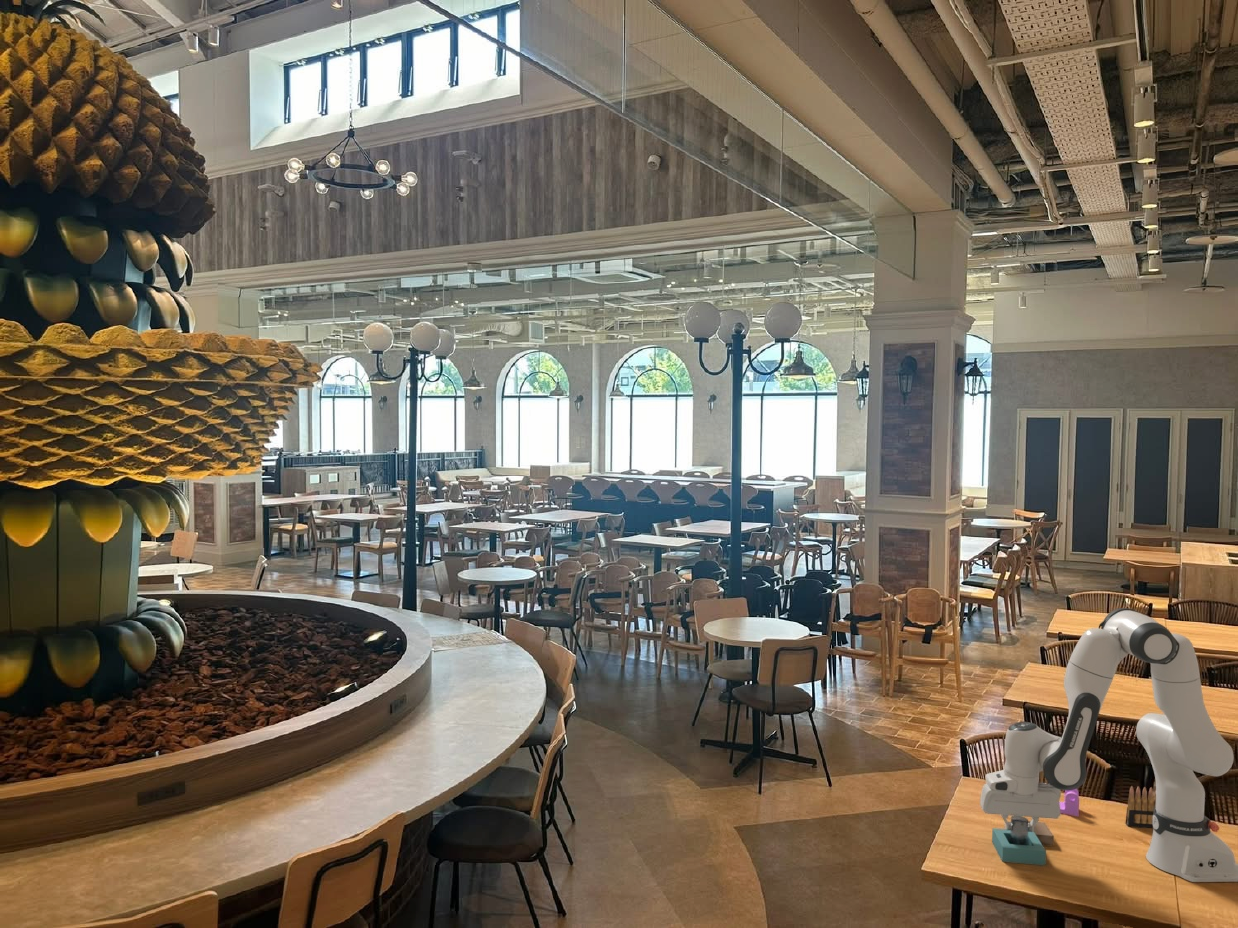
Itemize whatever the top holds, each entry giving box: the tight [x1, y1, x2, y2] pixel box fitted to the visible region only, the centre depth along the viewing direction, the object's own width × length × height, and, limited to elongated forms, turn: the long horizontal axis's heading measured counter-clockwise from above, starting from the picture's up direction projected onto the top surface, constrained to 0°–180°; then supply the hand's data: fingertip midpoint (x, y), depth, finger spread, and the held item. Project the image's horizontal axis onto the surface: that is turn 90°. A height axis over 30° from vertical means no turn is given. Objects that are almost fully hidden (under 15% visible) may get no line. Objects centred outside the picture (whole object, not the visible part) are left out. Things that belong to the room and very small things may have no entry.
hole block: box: [991, 827, 1047, 866], centre depth 244 cm, size 11×11×4 cm
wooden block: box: [1028, 820, 1055, 847], centre depth 252 cm, size 8×8×3 cm
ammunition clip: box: [1125, 785, 1156, 829], centre depth 260 cm, size 11×2×12 cm, turn 82°
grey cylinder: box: [1010, 815, 1029, 845], centre depth 243 cm, size 4×4×8 cm
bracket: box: [1059, 788, 1080, 817], centre depth 271 cm, size 13×6×7 cm, turn 64°
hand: (1019, 829), depth 243 cm, fingers closed on grey cylinder, 4 cm apart
